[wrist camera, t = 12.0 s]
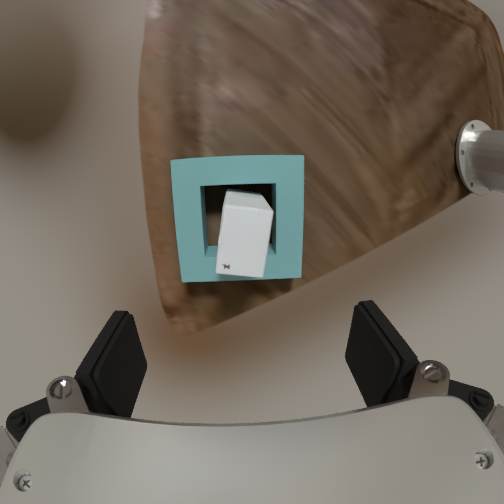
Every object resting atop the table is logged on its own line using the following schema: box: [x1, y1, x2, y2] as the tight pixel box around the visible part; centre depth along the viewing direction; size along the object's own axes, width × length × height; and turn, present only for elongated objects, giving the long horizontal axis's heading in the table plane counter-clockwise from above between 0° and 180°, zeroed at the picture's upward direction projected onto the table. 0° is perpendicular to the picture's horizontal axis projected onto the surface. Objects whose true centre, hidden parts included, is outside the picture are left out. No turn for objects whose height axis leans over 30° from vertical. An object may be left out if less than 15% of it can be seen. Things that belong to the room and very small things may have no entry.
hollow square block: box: [171, 155, 304, 282], centre depth 32 cm, size 14×14×4 cm
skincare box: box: [215, 188, 274, 278], centre depth 28 cm, size 6×4×12 cm
